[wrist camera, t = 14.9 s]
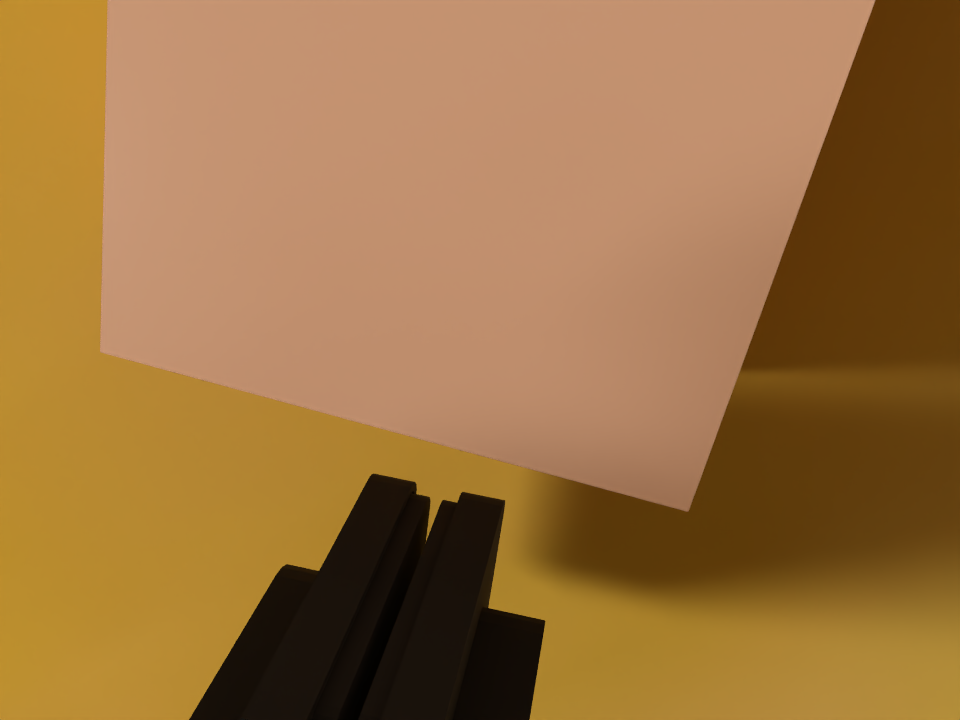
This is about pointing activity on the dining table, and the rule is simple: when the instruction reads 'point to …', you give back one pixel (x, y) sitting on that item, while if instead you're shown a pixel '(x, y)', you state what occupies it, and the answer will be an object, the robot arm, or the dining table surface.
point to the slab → (467, 211)
